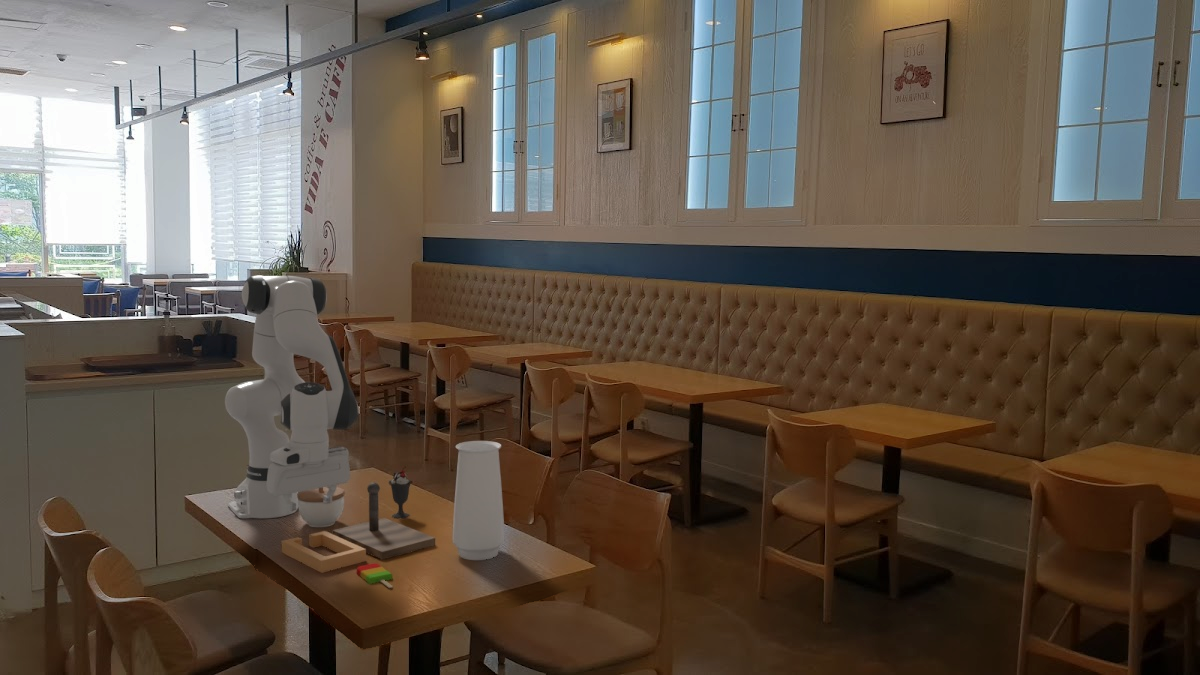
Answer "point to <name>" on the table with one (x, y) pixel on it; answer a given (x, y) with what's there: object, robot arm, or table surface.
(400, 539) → the stand
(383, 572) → the popsicle
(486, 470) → the vase
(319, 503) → the lidded bowl
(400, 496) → the sundae
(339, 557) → the link
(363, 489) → the table surface
